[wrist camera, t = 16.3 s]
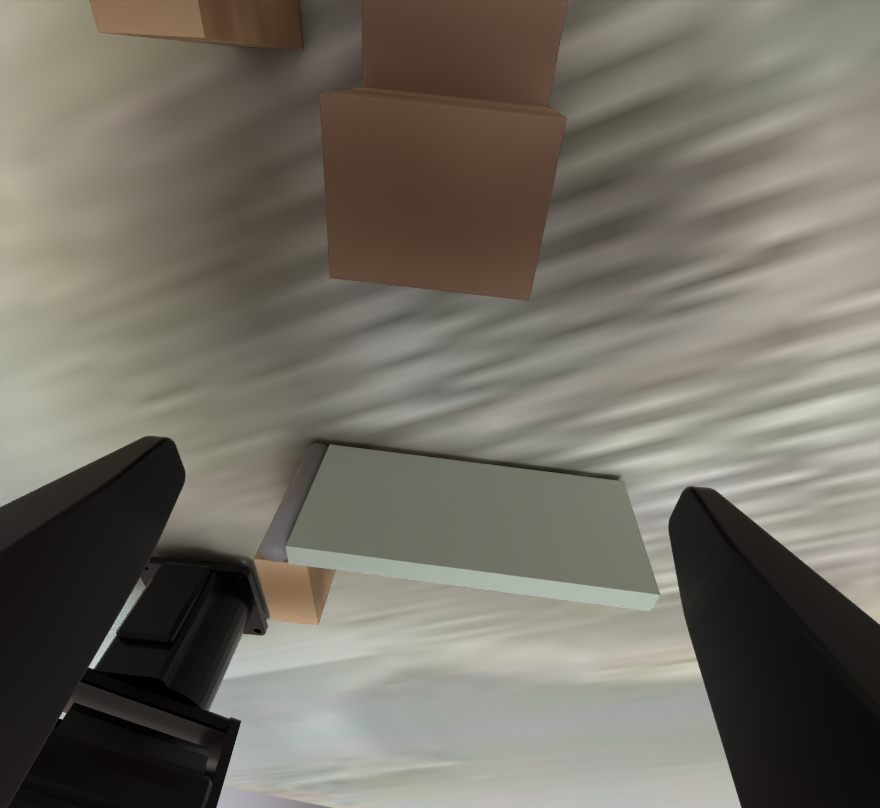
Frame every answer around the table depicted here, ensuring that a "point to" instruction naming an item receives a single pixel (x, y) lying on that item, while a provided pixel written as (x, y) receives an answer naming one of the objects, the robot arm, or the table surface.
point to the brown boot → (445, 146)
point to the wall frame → (249, 25)
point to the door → (463, 526)
